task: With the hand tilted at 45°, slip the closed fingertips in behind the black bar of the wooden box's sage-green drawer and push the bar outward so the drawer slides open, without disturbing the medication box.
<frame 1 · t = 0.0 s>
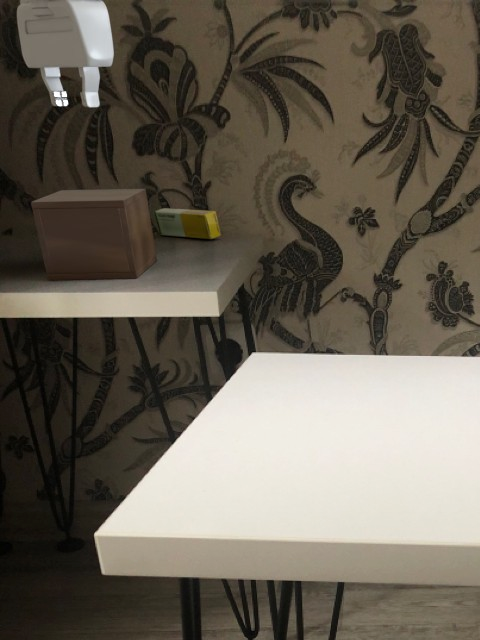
hand: (75, 106, 125), 20 cm above the table, tool pointing down, fingers open, 8 cm apart
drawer: (107, 227, 129), point 5 cm above the table, slide at 0.5 cm
medication box: (189, 238, 152), on the table
wooden box: (105, 269, 127), on the table
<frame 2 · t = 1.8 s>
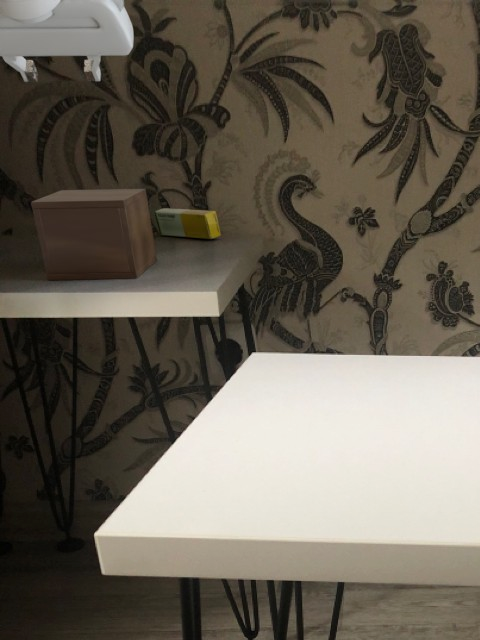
hand: (63, 77, 113), 23 cm above the table, tool tilted 45°, fingers open, 6 cm apart
nothing on the table moved.
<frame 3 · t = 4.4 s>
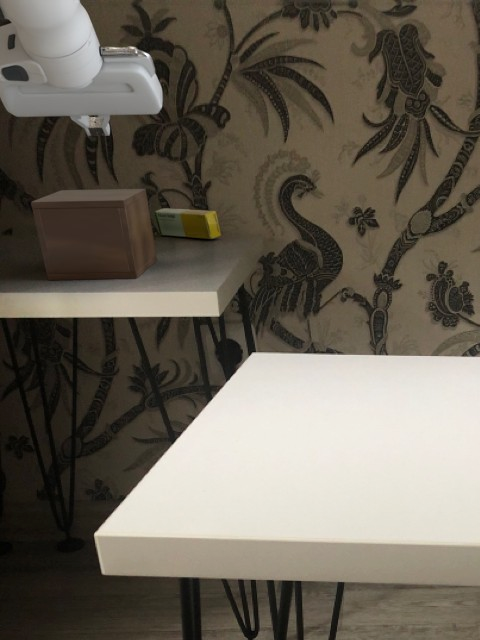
hand: (99, 132, 127), 17 cm above the table, tool tilted 45°, fingers closed
nothing on the table moved.
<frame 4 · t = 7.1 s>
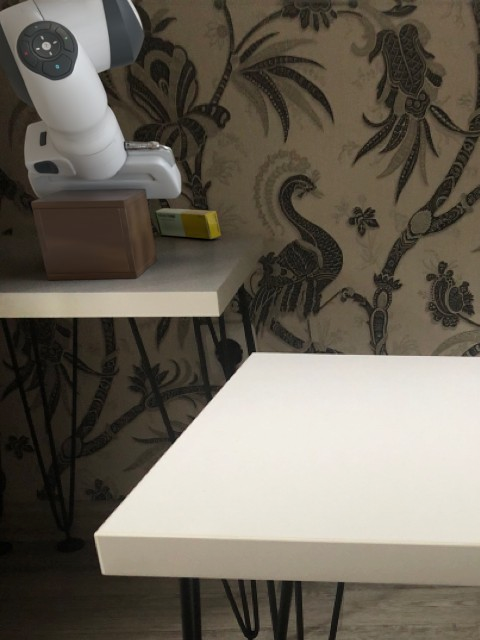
hand: (121, 212, 136), 6 cm above the table, tool tilted 45°, fingers closed, pressing on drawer
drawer: (108, 227, 130), point 5 cm above the table, slide at 1.2 cm, touching gripper
everything else where it was.
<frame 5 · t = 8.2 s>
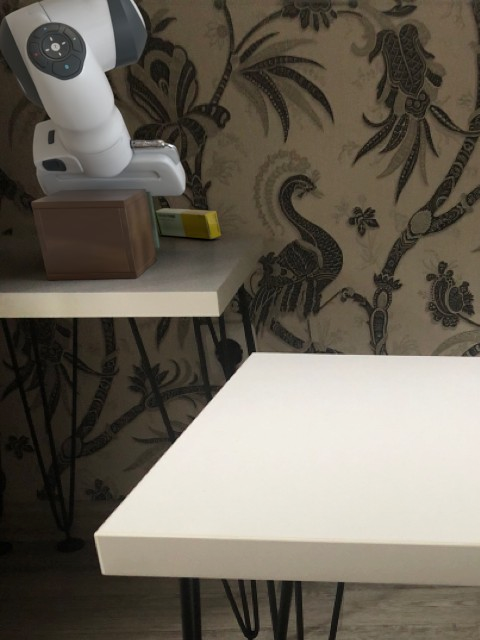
hand: (126, 208, 139), 6 cm above the table, tool tilted 45°, fingers closed, pressing on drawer
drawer: (114, 223, 133), point 5 cm above the table, slide at 4.9 cm, touching gripper
everything else where it was.
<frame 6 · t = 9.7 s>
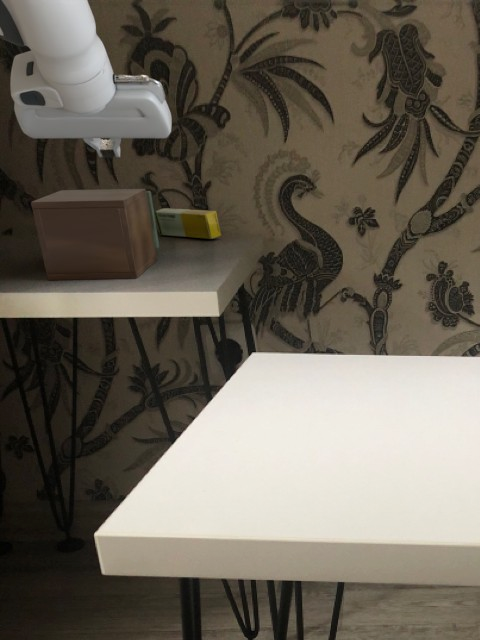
hand: (110, 153, 133), 14 cm above the table, tool tilted 45°, fingers closed
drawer: (114, 223, 133), point 5 cm above the table, slide at 4.6 cm
everything else where it was.
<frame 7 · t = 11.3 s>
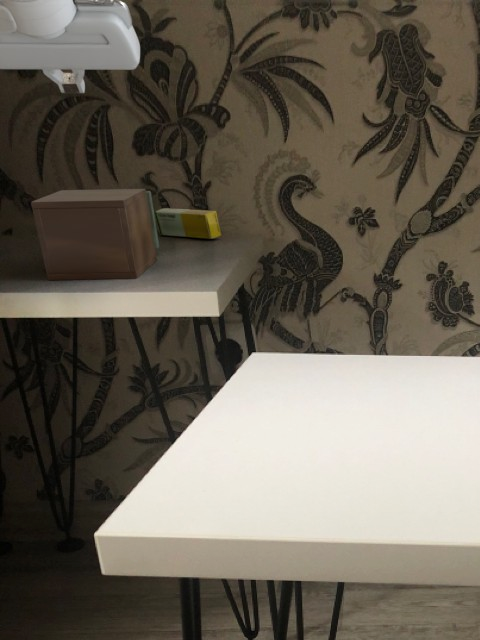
hand: (73, 89, 121), 22 cm above the table, tool tilted 45°, fingers closed
nothing on the table moved.
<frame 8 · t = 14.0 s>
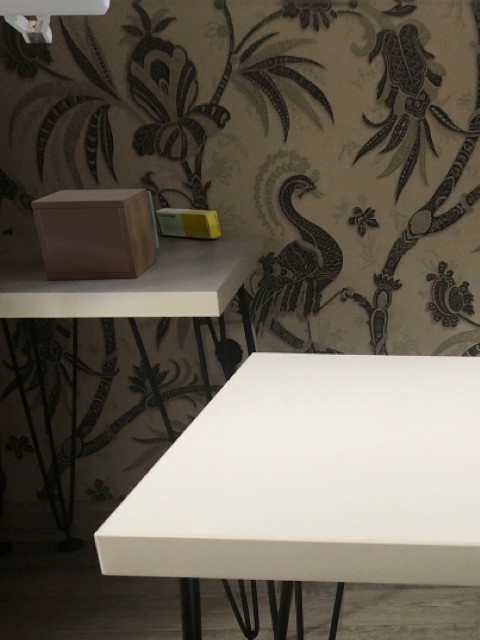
hand: (39, 39, 111), 27 cm above the table, tool tilted 45°, fingers closed
nothing on the table moved.
at the end: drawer slide at 4.6 cm; medication box moved 0.2 cm from its start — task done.
